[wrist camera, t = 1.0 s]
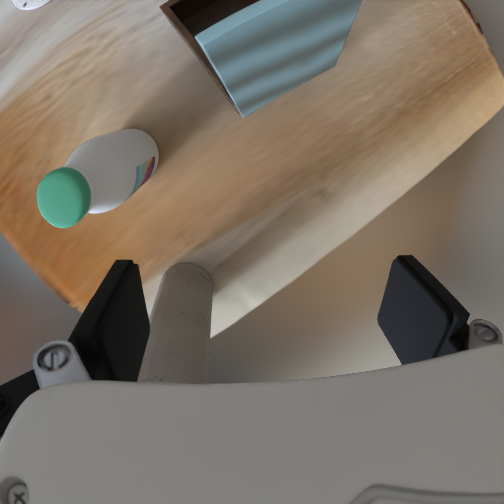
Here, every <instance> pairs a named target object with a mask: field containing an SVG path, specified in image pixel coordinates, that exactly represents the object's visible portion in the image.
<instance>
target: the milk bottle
mask: <svg viewBox="0 0 504 504" xmlns="http://www.w3.org/2000/svg"><path fill="white" fill-rule="evenodd" d="M158 161H159V152H158V148H157V145H156V143H155V141H154V140H153V138H152V137H151V136H150V135H149V134H147V133H146V132H144V131H142V130H139V129H125V130H120V131H116V132H112V133H109V134H105V135H102V136H98V137H95V138H93V139H90V140H88V141H86V142H84V143H83V144H81V145H80V146H78V147H77V148H76V149H75V150H74V151H73V152H72V154H71V155H70V156H69V158H68V159H67V161H66V163H65V166H62V167H60V168H58V169H55V170H53V171H51V172H50V173H48V174H47V175H46V176H45V177H44V178H43V179H42V181H41V182H40V184H39V187H38V190H37V203H38V207H39V210H40V212H41V214H42V215H43V217H44V218H45V219H46V220H47V221H48V222H49V223H50V224H52V225H53V226H56V227H59V228H67V227H71V226H73V225H75V224H76V223H78V222H79V221H80V220H81V219H82V218H83V217H84V216H86V215H87V214H88V213H103V212H107V211H110V210H112V209H114V208H116V207H118V206H119V205H121V204H122V203H123V202H124V201H126V200H127V199H128V198H129V197H130V196H131V195H132V194H133V193H134V192H136V191H137V190H138V189H139V188H140V187H141V186H142V185H143V184H144V183H145V182H146V181H147V180H148V179H149V178H150V177H151V176H152V175H153V173H154V172H155V170H156V168H157V165H158Z"/></svg>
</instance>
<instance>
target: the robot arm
mask: <svg viewBox="0 0 504 504" xmlns="http://www.w3.org/2000/svg"><path fill="white" fill-rule="evenodd" d="M12 1H13V3H14V5H15V6H16V7H18V8H20V9H23V10H32V9H36V8H39V7H41V6H43V5H45V4H46V3H48V2H49V1H51V0H12ZM469 316H470V313H469V312H467V310H466V309H465V308H464V307H463V306H462V305H461V304H460V303H459V302H458V300H457V299H456V298H455V297H454V296H453V295H452V294H451V293H450V292H449V291H448V290H447V289H446V288H445V287H444V286H443V285H442V284H441V283H440V282H439V281H438V280H437V279H436V278H435V277H434V276H433V275H432V274H431V273H430V272H429V271H428V270H427V269H426V268H425V267H424V266H423V265H422V264H421V263H420V262H419V261H418V260H417V259H416V258H414V256H412V255H399V256H397V258H396V259H394V260H393V262H392V266H391V270H390V274H389V278H388V281H387V285H386V289H385V292H384V296H383V300H382V303H381V307H380V310H379V313H378V324H379V326H380V328H381V329H382V331H383V333H384V334H385V336H386V338H387V340H388V341H389V343H390V345H391V346H392V348H393V350H394V351H395V353H396V355H397V357H398V358H399V360H400V362H401V364H402V365H400V366H395V367H389V368H383V369H378V370H372V371H365V372H359V373H352V374H345V375H338V376H330V377H321V378H312V379H302V380H290V381H276V382H261V383H239V384H173V383H150V382H137V381H138V377H139V373H140V369H141V365H142V361H143V357H144V353H145V350H146V346H147V342H148V339H149V335H150V323H149V318H148V313H147V309H146V304H145V299H144V294H143V288H142V283H141V277H140V271H139V266H138V264H134V263H133V261H132V260H116V261H115V262H114V264H113V265H112V267H111V269H110V270H109V272H108V273H107V275H106V277H105V278H104V280H103V281H102V283H101V285H100V286H99V288H98V290H97V291H96V293H95V295H94V296H93V297H92V298H91V300H90V302H89V304H88V305H87V307H86V309H85V310H84V312H83V314H82V316H81V317H80V319H79V321H78V323H77V325H76V326H75V328H74V330H73V332H72V334H71V336H70V338H69V339H68V341H65V340H53V341H50V342H47V343H46V344H44V345H42V346H41V347H40V348H39V349H38V350H37V351H36V352H35V354H34V357H33V360H32V361H33V368H34V369H33V370H31V371H29V372H27V373H25V374H23V375H21V376H19V377H17V378H15V379H13V380H11V381H9V382H7V383H5V384H3V385H1V386H0V504H504V344H503V339H502V334H501V332H500V330H499V329H498V328H497V327H496V326H495V325H494V324H492V323H490V322H488V321H486V320H482V319H476V320H473V321H472V322H471V323H470V325H468V324H467V323H466V322H467V320H468V318H469Z"/></svg>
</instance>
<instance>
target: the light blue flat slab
mask: <svg viewBox="0 0 504 504" xmlns="http://www.w3.org/2000/svg"><path fill="white" fill-rule="evenodd" d="M361 2H362V0H260V1H258V2H256V3H254V4H252V5H250V6H248V7H246V8H244V9H242V10H240V11H238V12H236V13H234V14H232V15H230V16H229V17H227V18H225V19H223V20H221V21H220V22H218V23H216V24H214V25H213V26H211V27H209V28H207V29H206V30H204V31H202V32H201V33H199V34H198V35H196V36H195V38H196V40H197V42H198V43H199V45H200V46H201V48H202V50H203V51H204V53H205V55H206V56H207V58H208V59H209V61H210V63H211V64H212V66H213V68H214V69H215V71H216V73H217V74H218V76H219V78H220V80H221V81H222V83H223V85H224V86H225V88H226V90H227V92H228V93H229V95H230V97H231V99H232V100H233V102H234V104H235V106H236V107H237V109H238V111H239V113H240V114H241V115H242V117H243V118H245V117H246V116H248V115H250V114H251V113H253V112H254V111H256V110H258V109H259V108H261V107H263V106H264V105H266V104H268V103H269V102H271V101H273V100H274V99H276V98H278V97H279V96H281V95H283V94H285V93H286V92H288V91H290V90H292V89H294V88H295V87H297V86H299V85H301V84H303V83H305V82H306V81H308V80H310V79H312V78H314V77H316V76H318V75H320V74H322V73H323V72H325V71H327V70H329V69H331V68H333V67H335V65H336V63H337V60H338V58H339V55H340V53H341V51H342V48H343V46H344V43H345V41H346V39H347V36H348V34H349V31H350V29H351V27H352V24H353V22H354V19H355V17H356V14H357V12H358V10H359V7H360V5H361Z"/></svg>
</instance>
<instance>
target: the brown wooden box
mask: <svg viewBox="0 0 504 504" xmlns="http://www.w3.org/2000/svg"><path fill="white" fill-rule="evenodd" d="M258 1H260V0H169V1H167V2H166V3H164V4H163V5H161V6H160V9H161V10H162V12H163V13H164V14H165V16H166V17H167V19H168V20H169V22H170V23H171V24H172V26H173V27H174V28H175V30H176V31H177V32H178V33H179V35H180V36H181V37H182V38H183V40H184V41H185V42H186V43H187V45H188V46H189V47H190V49H191V50H192V51H193V53H194V54H195V55H196V56H197V58H198V59H199V60H200V62H201V63H202V64H203V66H204V67H205V68H206V70H207V71H208V72H209V74H210V75H211V77H212V78H213V79H214V81H215V82H216V83H217V85H218V86H219V87H220V89H221V90H222V92H223V93H224V94H225V96H226V97H227V99H228V100H229V101H230V103H231V104H232V106H233V107H234V109H235V110H236V111H237V113H238V114H240V113H239V111H238V109H237V107H236V106H235V104H234V102H233V100H232V99H231V97H230V95H229V93H228V92H227V90H226V88H225V86H224V85H223V83H222V81H221V80H220V78H219V76H218V74H217V73H216V71H215V69H214V68H213V66H212V64H211V63H210V61H209V59H208V58H207V56H206V55H205V53H204V51H203V50H202V48H201V46H200V45H199V43H198V42H197V40H196V38H195V36H196V35H198V34H199V33H201V32H202V31H204V30H206V29H207V28H209V27H211V26H213V25H214V24H216V23H218V22H220V21H221V20H223V19H225V18H227V17H229V16H230V15H232V14H234V13H236V12H238V11H240V10H242V9H244V8H246V7H248V6H250V5H252V4H254V3H256V2H258ZM240 115H241V114H240Z"/></svg>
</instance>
